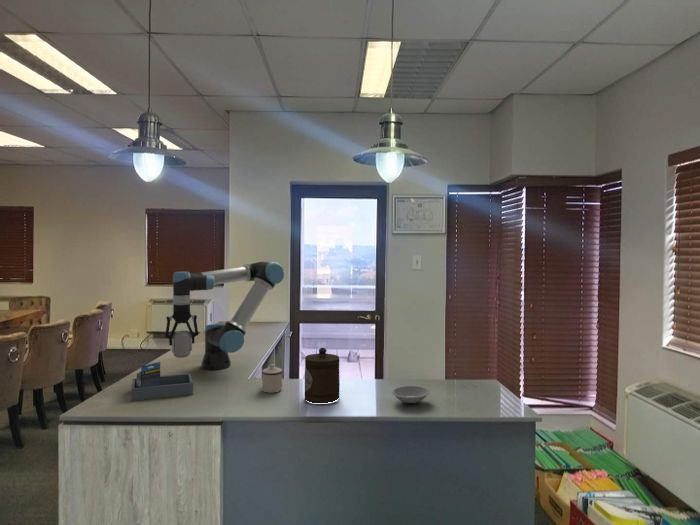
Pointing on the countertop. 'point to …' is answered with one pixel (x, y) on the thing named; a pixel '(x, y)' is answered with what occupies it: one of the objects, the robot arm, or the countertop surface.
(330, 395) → the wooden container
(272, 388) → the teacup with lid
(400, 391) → the dish
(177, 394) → the tote
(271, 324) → the countertop surface
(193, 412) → the countertop surface
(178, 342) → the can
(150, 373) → the blue retail box
